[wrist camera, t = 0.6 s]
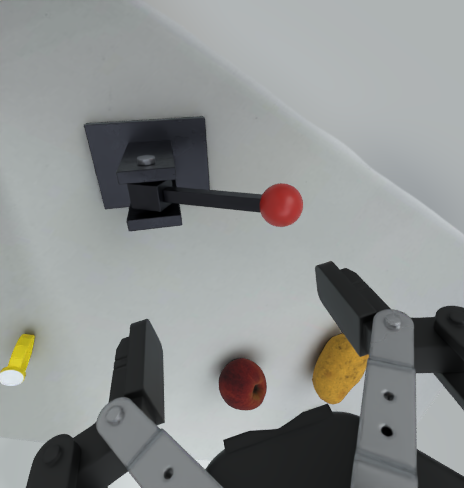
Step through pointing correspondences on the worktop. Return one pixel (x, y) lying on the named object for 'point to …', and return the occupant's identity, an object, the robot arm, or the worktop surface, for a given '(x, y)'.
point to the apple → (242, 384)
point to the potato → (337, 369)
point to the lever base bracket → (148, 162)
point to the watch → (18, 361)
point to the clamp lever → (221, 200)
